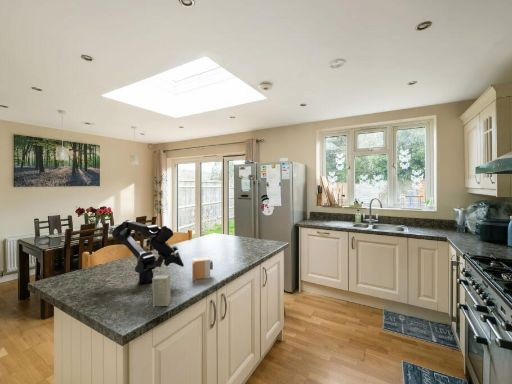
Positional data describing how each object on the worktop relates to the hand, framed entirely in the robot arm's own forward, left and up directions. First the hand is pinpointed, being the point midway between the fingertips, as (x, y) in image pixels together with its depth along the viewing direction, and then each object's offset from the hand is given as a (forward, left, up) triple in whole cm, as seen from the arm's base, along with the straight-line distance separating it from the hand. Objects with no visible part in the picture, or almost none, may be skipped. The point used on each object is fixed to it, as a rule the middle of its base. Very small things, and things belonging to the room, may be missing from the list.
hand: (183, 266), depth 129 cm
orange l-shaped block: (+8, -1, -8) cm, 11 cm away
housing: (+11, +4, -9) cm, 14 cm away
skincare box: (-14, -20, -9) cm, 26 cm away
